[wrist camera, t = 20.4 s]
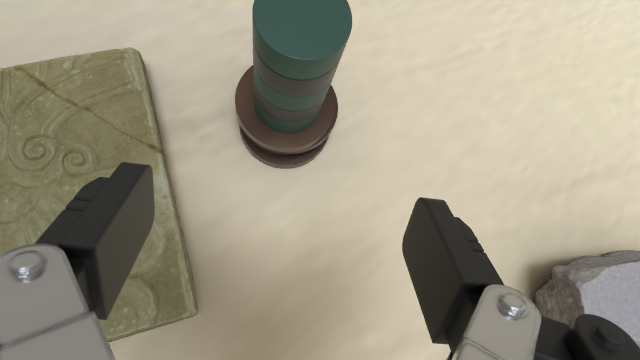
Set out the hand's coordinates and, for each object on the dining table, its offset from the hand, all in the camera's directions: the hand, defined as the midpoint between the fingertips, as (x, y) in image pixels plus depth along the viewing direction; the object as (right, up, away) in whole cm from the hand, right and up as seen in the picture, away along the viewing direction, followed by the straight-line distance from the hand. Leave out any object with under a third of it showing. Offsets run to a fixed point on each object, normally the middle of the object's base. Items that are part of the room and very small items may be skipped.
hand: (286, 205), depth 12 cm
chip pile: (-2, +6, +20) cm, 21 cm away
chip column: (-1, +6, +16) cm, 18 cm away
